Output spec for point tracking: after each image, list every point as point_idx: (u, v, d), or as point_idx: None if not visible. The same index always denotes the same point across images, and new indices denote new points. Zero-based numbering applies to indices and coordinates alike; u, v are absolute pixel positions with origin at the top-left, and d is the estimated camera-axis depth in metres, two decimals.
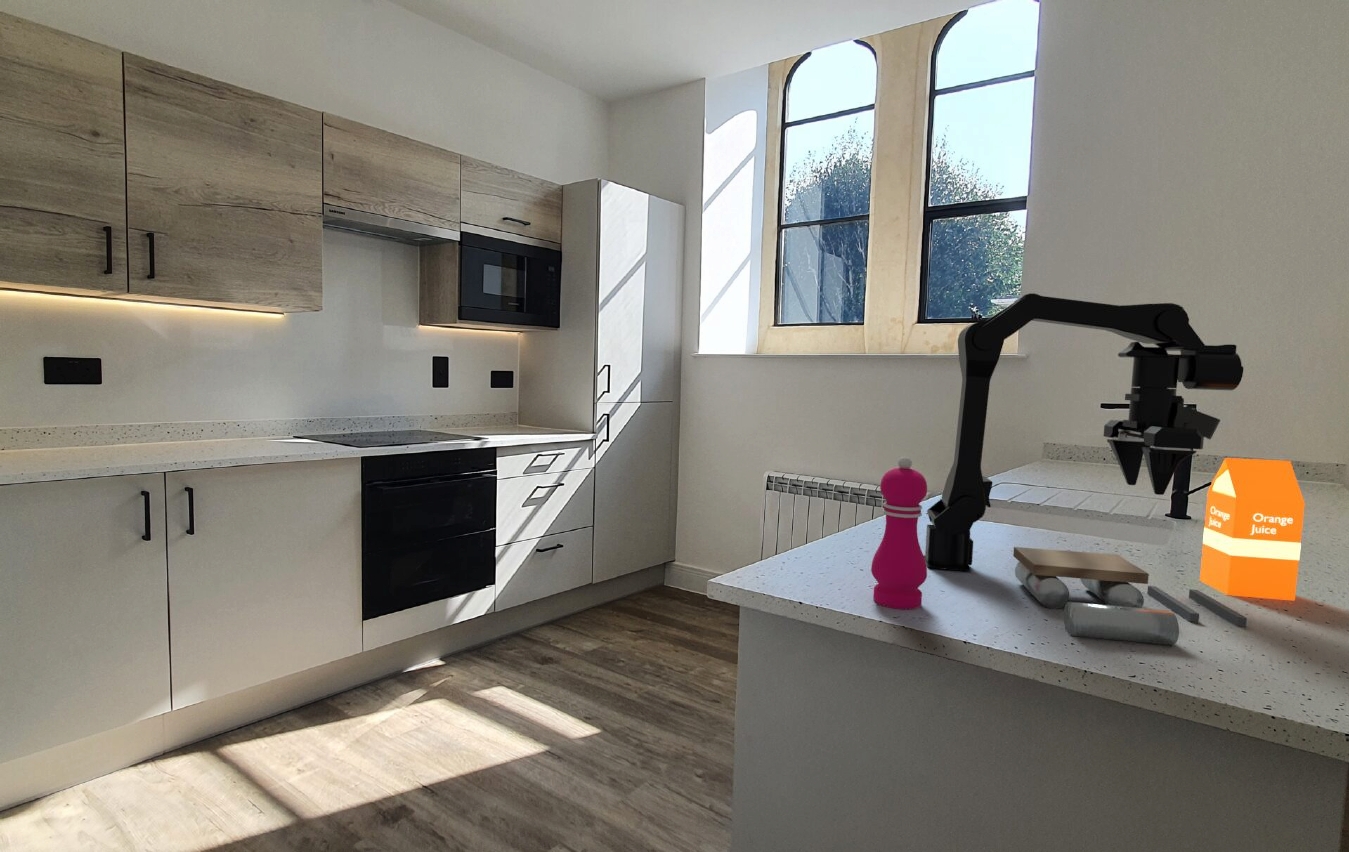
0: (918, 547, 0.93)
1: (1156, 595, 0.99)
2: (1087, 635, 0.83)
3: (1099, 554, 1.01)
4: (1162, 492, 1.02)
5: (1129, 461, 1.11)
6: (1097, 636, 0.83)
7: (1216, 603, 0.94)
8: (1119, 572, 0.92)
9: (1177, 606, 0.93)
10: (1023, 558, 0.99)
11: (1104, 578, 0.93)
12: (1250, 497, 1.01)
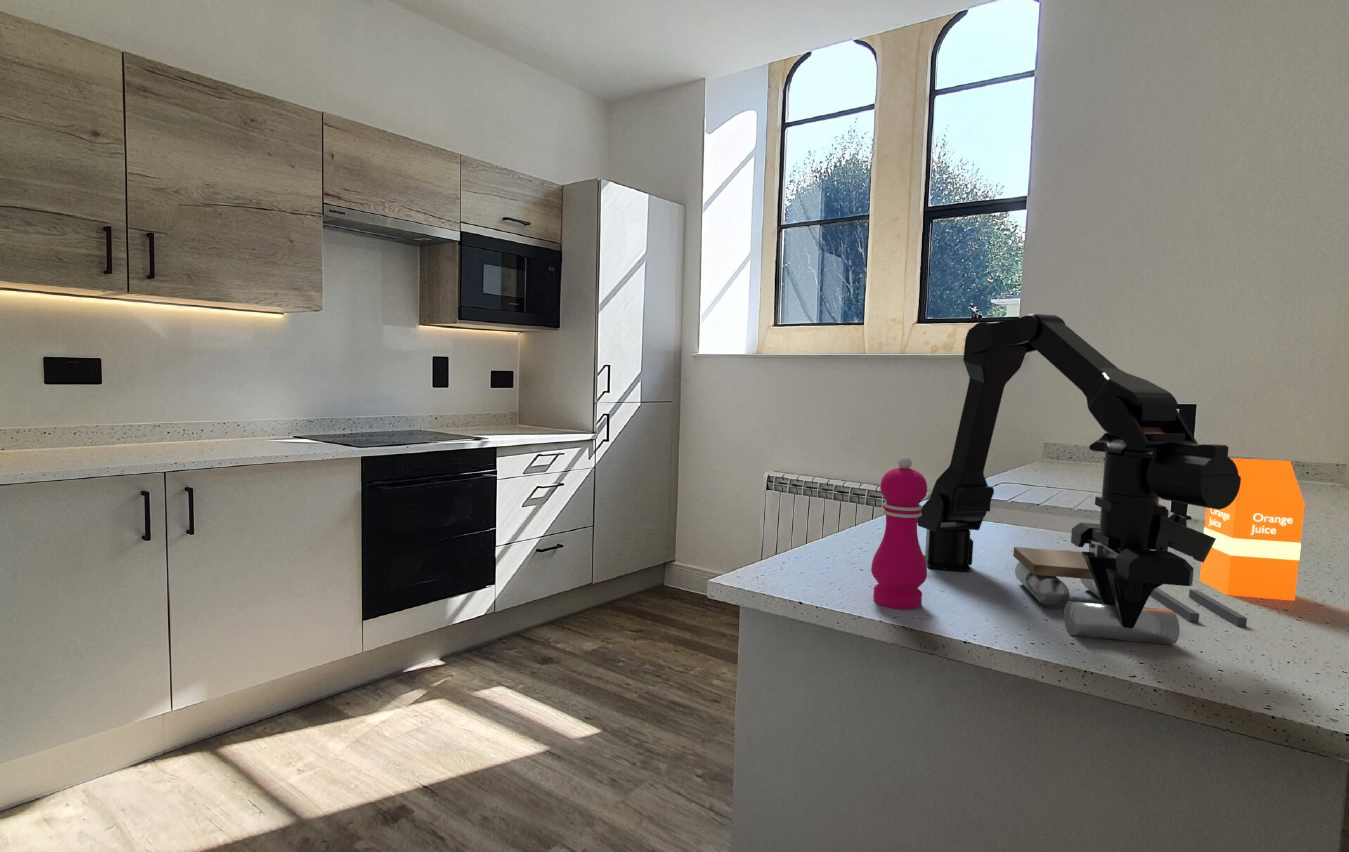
0: (918, 547, 0.93)
1: (1156, 595, 0.99)
2: (1088, 635, 0.83)
3: None
4: (1131, 625, 0.81)
5: (1109, 584, 0.86)
6: (1098, 635, 0.83)
7: (1216, 603, 0.94)
8: None
9: (1177, 606, 0.93)
10: (1023, 558, 0.99)
11: None
12: (1250, 497, 1.01)
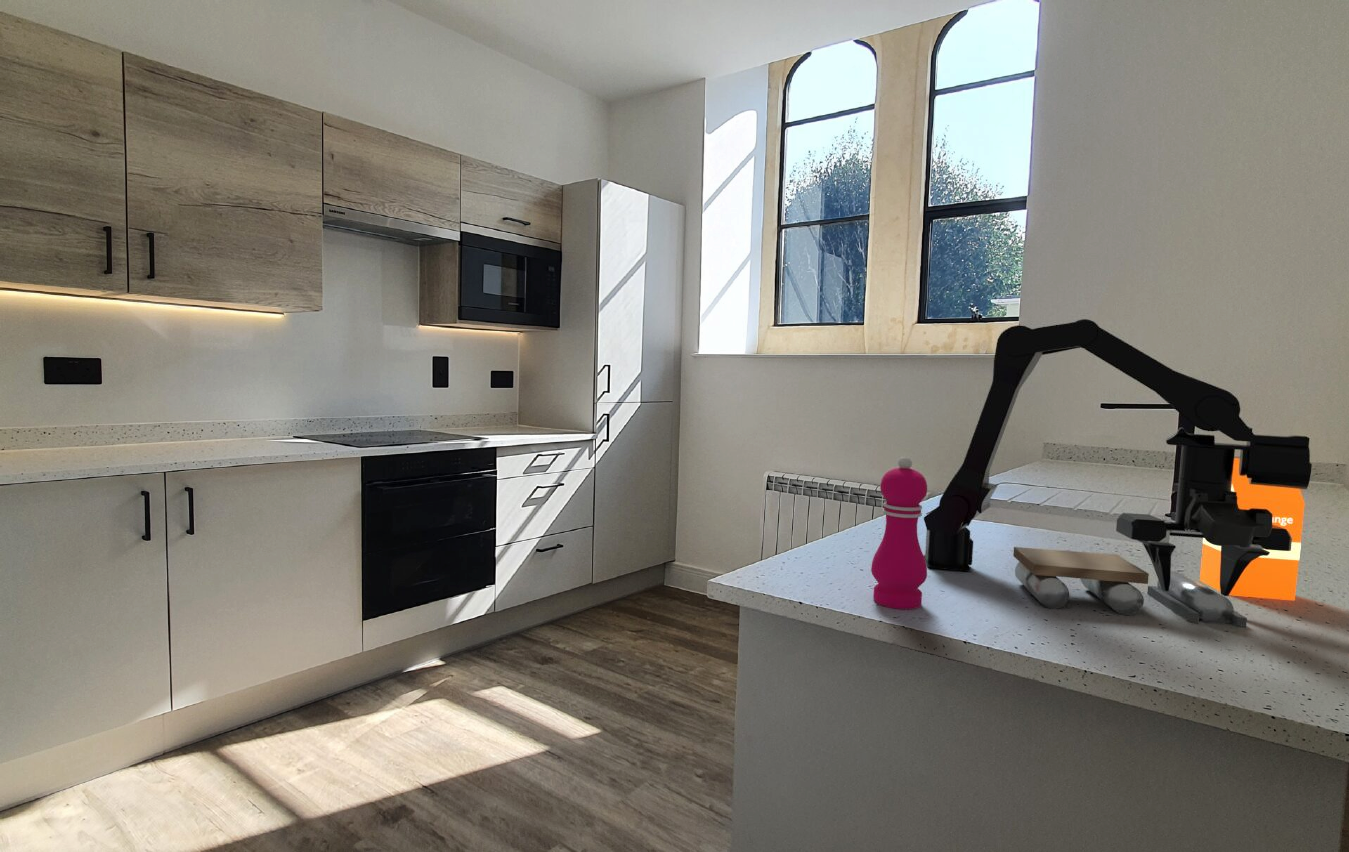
0: (918, 547, 0.93)
1: (1156, 595, 0.99)
2: None
3: (1099, 554, 1.01)
4: (1164, 588, 0.96)
5: (1225, 567, 0.95)
6: None
7: None
8: (1119, 572, 0.92)
9: (1177, 606, 0.93)
10: (1023, 558, 0.99)
11: (1104, 578, 0.93)
12: (1250, 497, 1.01)
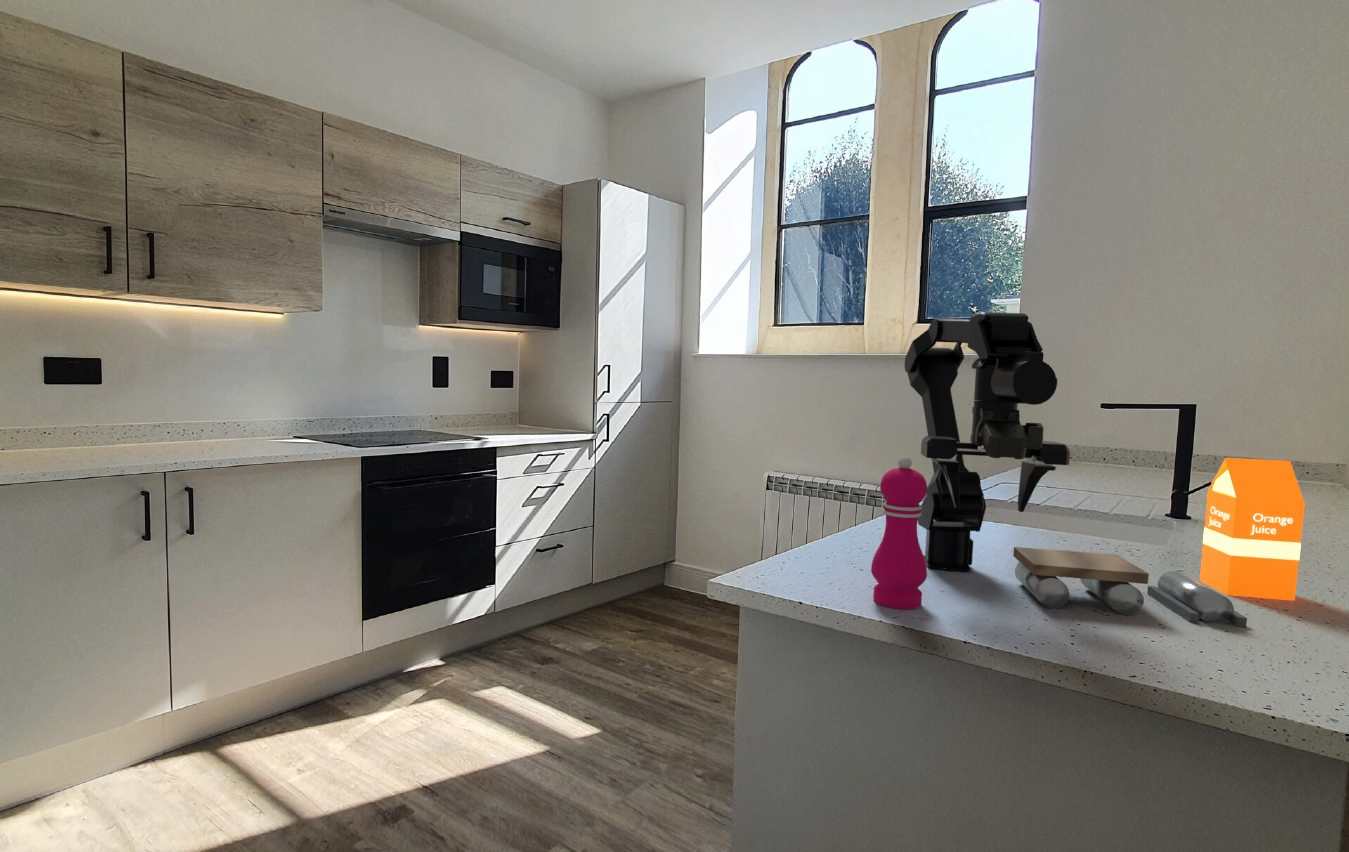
0: (918, 547, 0.93)
1: (1156, 595, 0.99)
2: None
3: (1099, 554, 1.01)
4: (955, 505, 1.00)
5: (1022, 485, 0.99)
6: None
7: None
8: (1119, 572, 0.92)
9: (1177, 606, 0.93)
10: (1023, 558, 0.99)
11: (1104, 578, 0.93)
12: (1250, 497, 1.01)
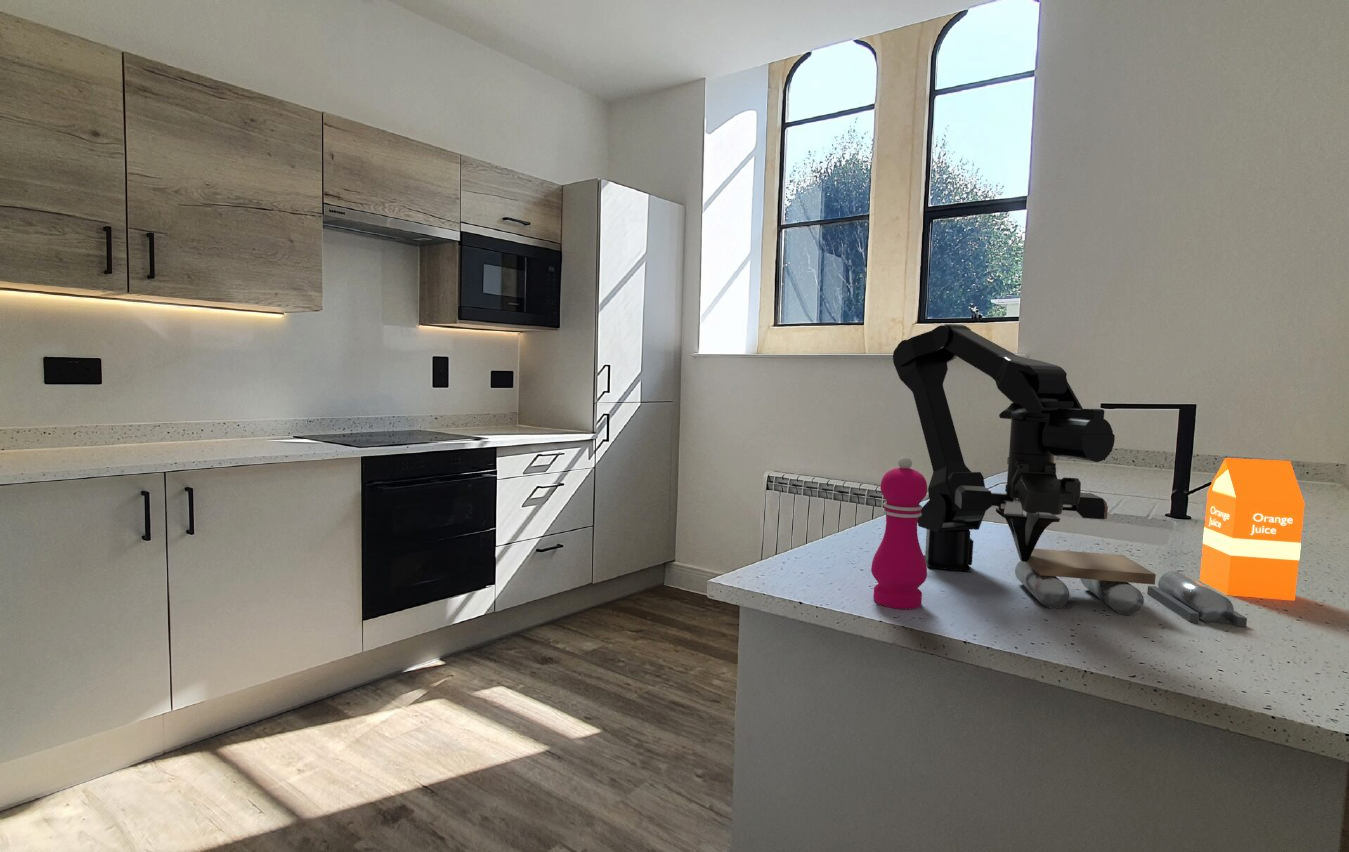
0: (918, 547, 0.93)
1: (1156, 595, 0.99)
2: None
3: (1105, 554, 1.01)
4: (1021, 558, 0.99)
5: (1026, 534, 1.00)
6: None
7: None
8: (1126, 573, 0.92)
9: (1177, 606, 0.93)
10: (1030, 558, 0.99)
11: (1111, 579, 0.93)
12: (1250, 497, 1.01)
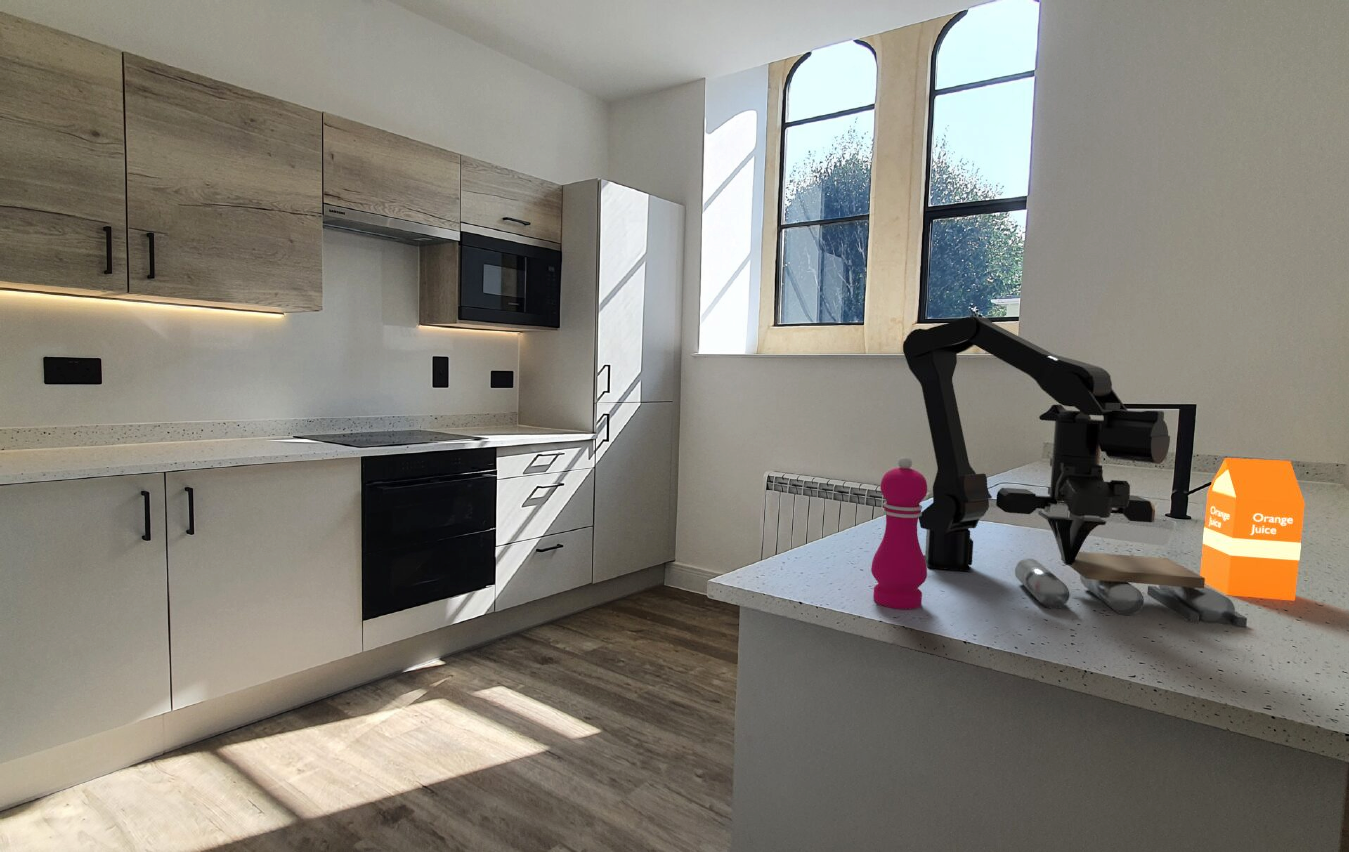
0: (918, 547, 0.93)
1: (1156, 595, 0.99)
2: None
3: (1149, 558, 1.00)
4: (1064, 562, 0.98)
5: (1070, 537, 0.98)
6: None
7: None
8: (1175, 576, 0.91)
9: (1177, 606, 0.93)
10: (1074, 562, 0.98)
11: (1159, 582, 0.91)
12: (1250, 497, 1.01)
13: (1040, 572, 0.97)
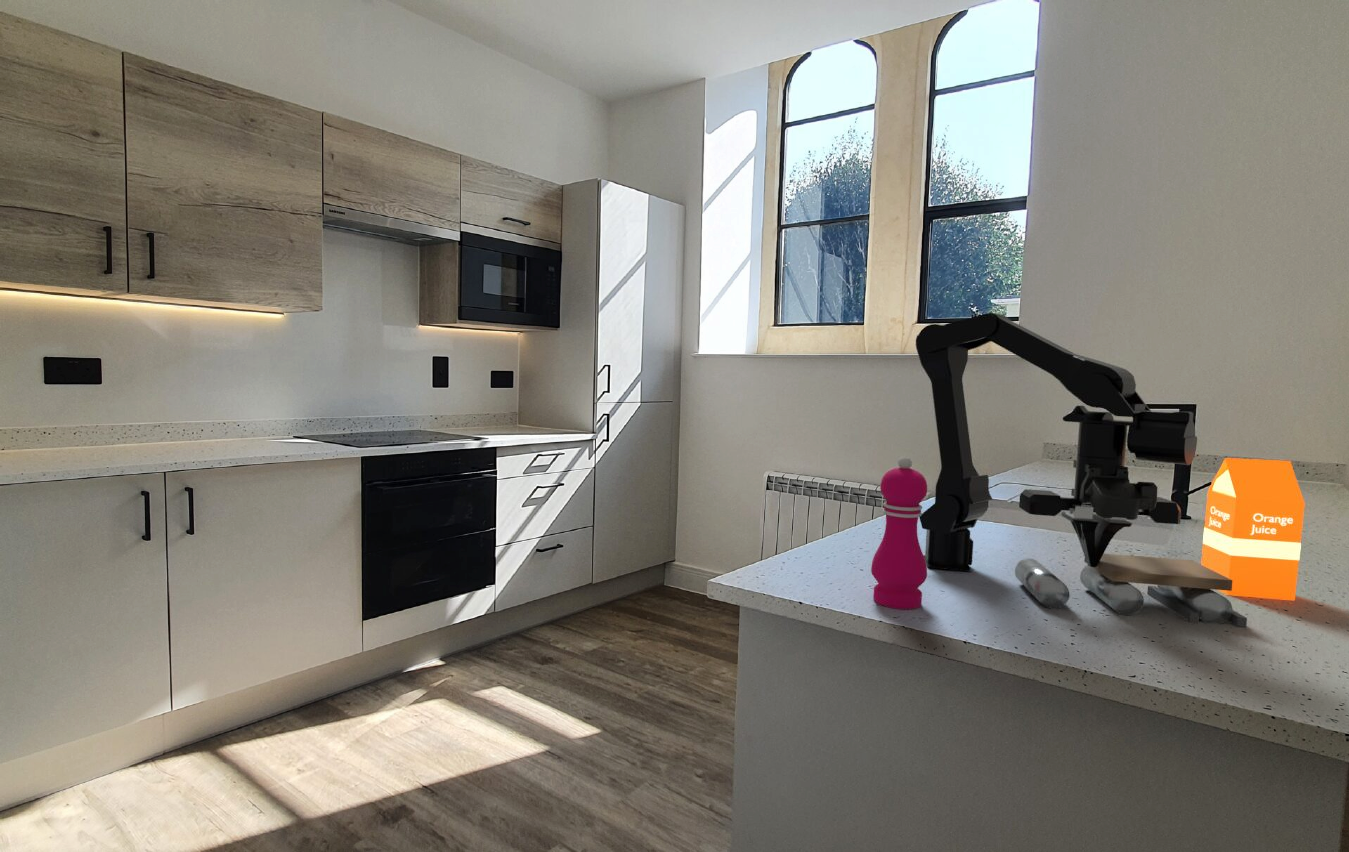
0: (918, 547, 0.93)
1: (1156, 595, 0.99)
2: None
3: (1174, 560, 0.99)
4: (1089, 564, 0.97)
5: (1094, 539, 0.98)
6: None
7: None
8: (1202, 579, 0.90)
9: (1177, 606, 0.93)
10: (1098, 563, 0.97)
11: (1186, 585, 0.91)
12: (1250, 497, 1.01)
13: (1040, 572, 0.97)
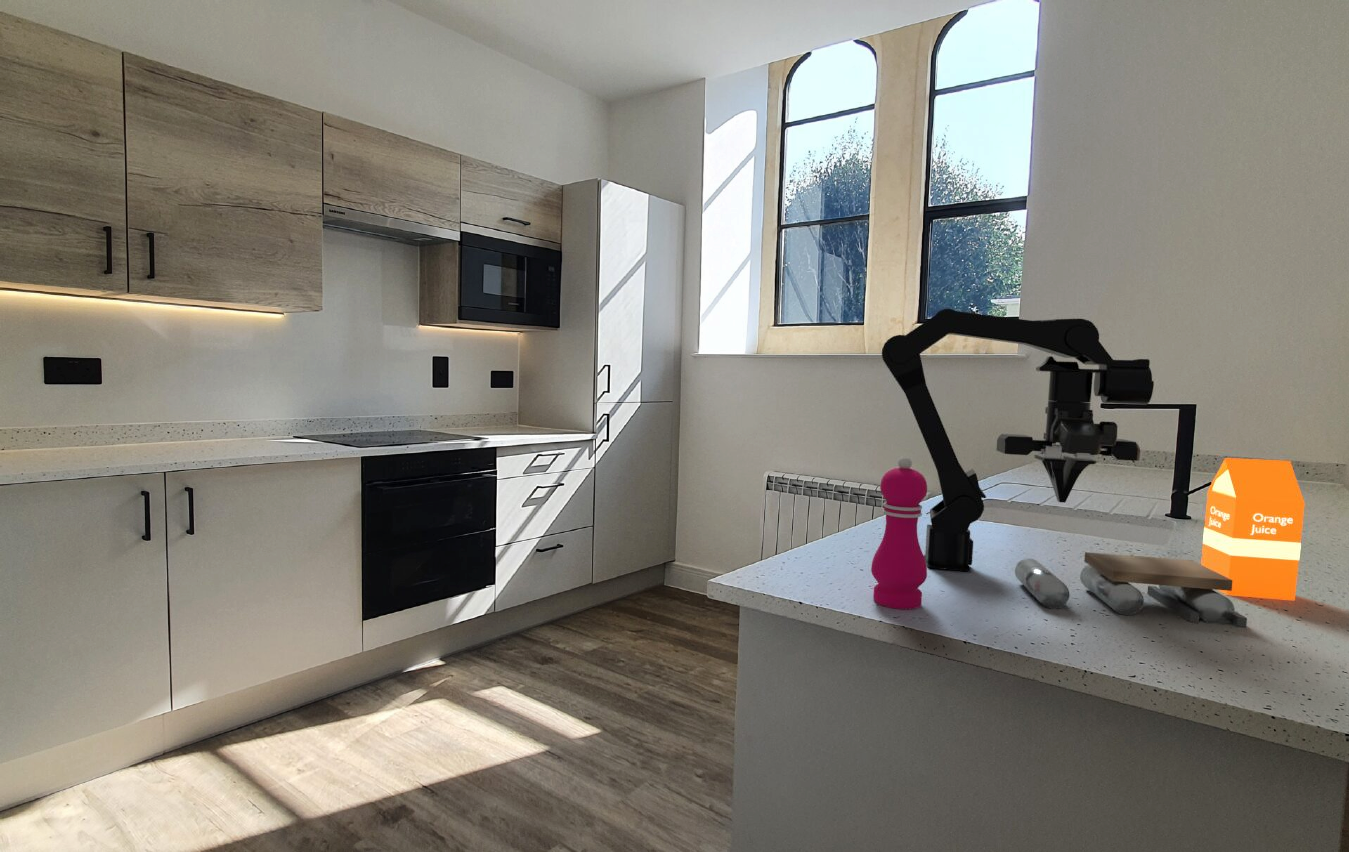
0: (918, 547, 0.93)
1: (1156, 595, 0.99)
2: None
3: (1174, 560, 0.99)
4: (1058, 499, 1.08)
5: (1064, 477, 1.08)
6: None
7: None
8: (1202, 579, 0.90)
9: (1177, 606, 0.93)
10: (1099, 563, 0.97)
11: (1186, 585, 0.91)
12: (1250, 497, 1.01)
13: (1040, 572, 0.97)
